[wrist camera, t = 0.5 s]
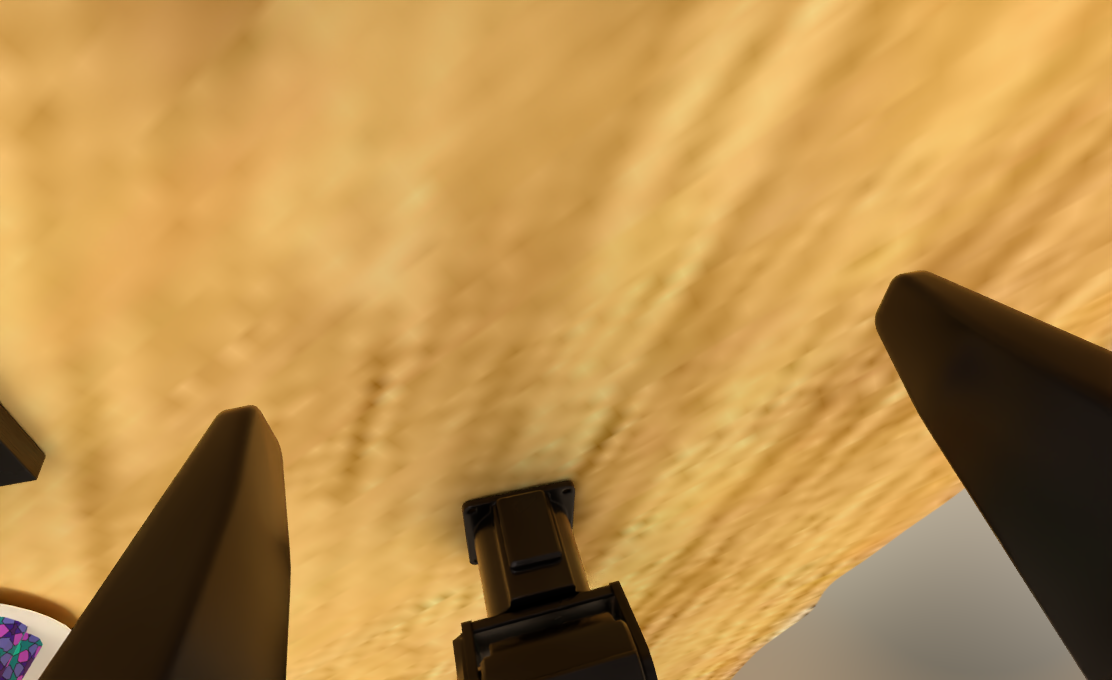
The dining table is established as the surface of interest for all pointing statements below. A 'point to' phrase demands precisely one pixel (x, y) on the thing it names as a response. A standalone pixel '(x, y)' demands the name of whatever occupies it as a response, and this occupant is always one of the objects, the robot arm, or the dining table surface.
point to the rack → (17, 453)
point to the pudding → (27, 642)
